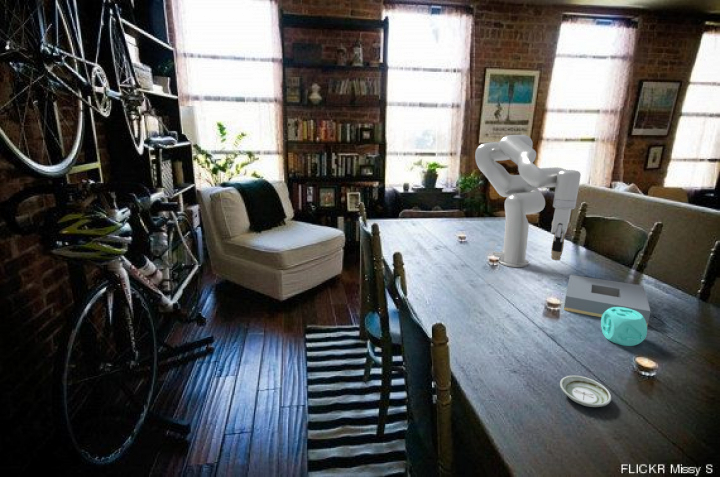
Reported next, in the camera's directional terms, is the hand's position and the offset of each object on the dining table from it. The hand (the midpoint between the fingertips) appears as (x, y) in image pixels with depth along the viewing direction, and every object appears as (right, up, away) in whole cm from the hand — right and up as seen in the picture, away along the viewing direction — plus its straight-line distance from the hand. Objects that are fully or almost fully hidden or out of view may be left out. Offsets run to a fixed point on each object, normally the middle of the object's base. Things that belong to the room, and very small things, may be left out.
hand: (557, 249), depth 144 cm
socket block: (+5, -18, -20) cm, 27 cm away
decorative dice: (-4, -24, -40) cm, 47 cm away
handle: (0, -4, +1) cm, 4 cm away
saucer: (-28, -31, -63) cm, 76 cm away
